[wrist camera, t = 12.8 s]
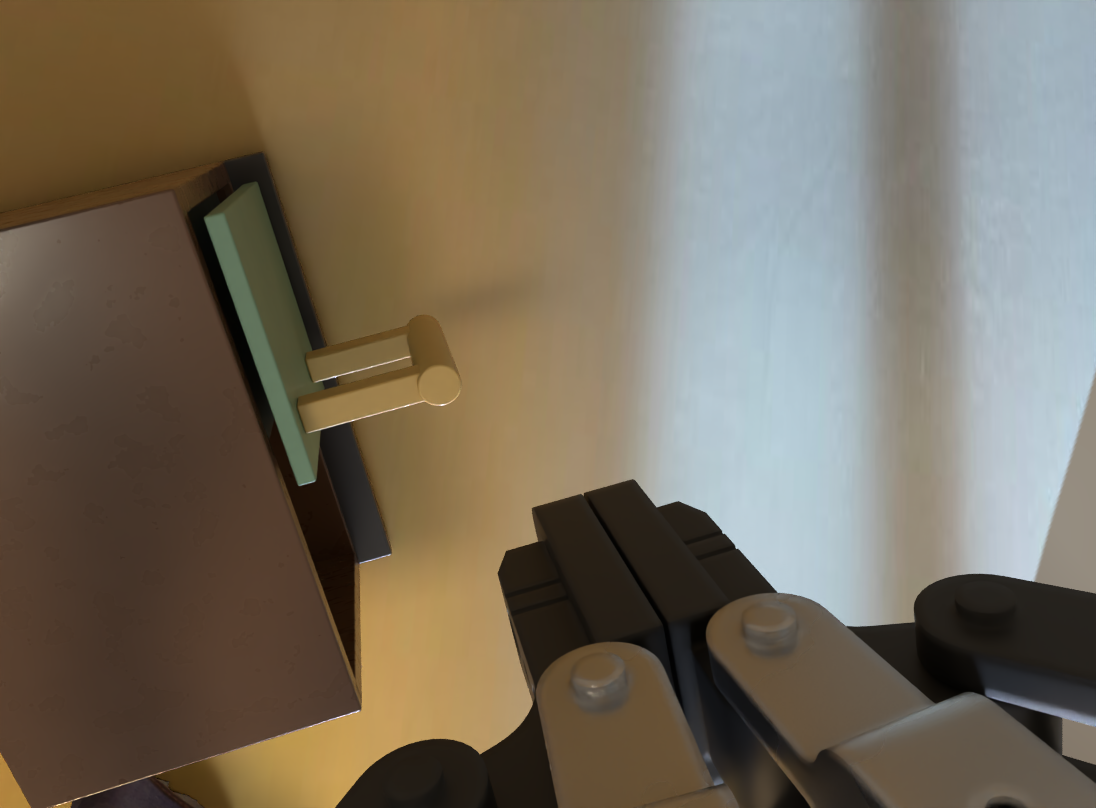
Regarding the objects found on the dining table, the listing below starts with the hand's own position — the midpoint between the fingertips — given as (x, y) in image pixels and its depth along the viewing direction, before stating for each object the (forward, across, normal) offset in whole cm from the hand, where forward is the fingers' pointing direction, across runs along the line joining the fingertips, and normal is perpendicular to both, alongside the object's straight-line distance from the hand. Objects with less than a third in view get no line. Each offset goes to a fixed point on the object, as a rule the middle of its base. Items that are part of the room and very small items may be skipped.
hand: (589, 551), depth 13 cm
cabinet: (+27, +12, +4) cm, 29 cm away
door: (+25, +3, 0) cm, 26 cm away
